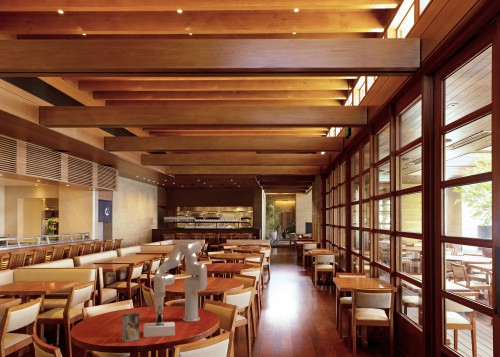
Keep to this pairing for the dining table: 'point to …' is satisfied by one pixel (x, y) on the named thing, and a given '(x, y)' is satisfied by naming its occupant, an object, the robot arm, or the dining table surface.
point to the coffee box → (130, 327)
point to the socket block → (159, 329)
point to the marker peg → (158, 322)
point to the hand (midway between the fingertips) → (159, 320)
